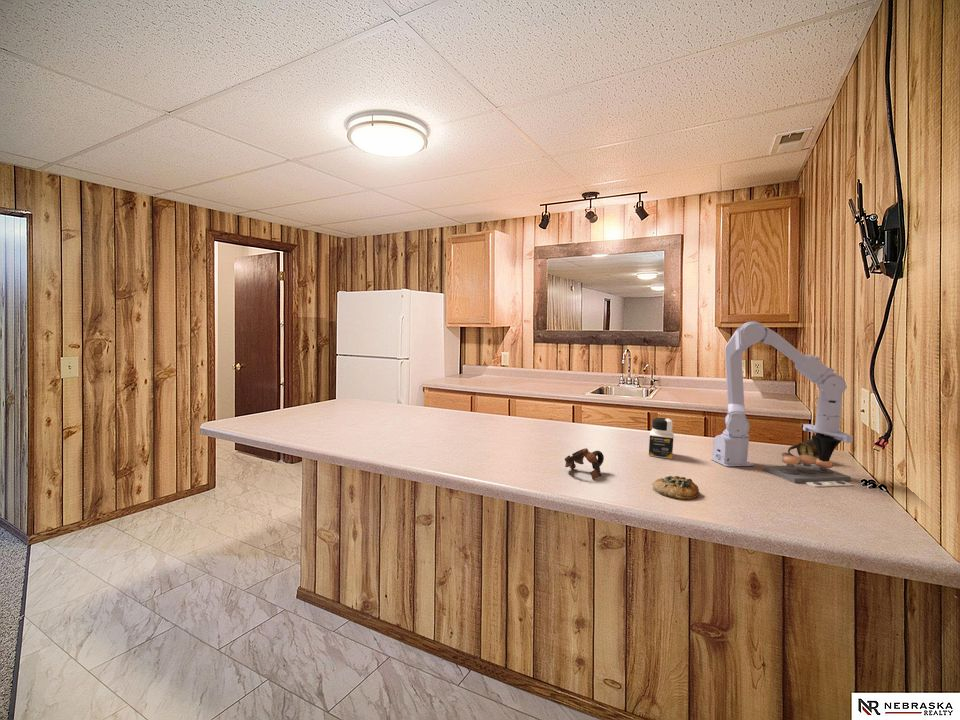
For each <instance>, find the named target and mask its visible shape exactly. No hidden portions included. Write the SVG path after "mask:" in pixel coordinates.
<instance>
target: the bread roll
mask: <svg viewBox="0 0 960 720" xmlns="http://www.w3.org/2000/svg"><path fill="white" fill-rule="evenodd" d="M651 485H652V489H653V490H652V491H655V492H656V493H658V494H660V495H662V496H664V497H667V498H673V499H674V498H676V499H679V500H685V501H686V500H693V499H696V498H697V497H698V496H699V495H700V490H699V486H698V485H697V484H696V483H695V482H693V480H692V478H686V477H685V476H682V477H681V476H678V475H675V476H673V475H669V476H665V477H664V478H663V477H662V478H657V479H656V480H654V481H653V482H652V483H651Z"/></svg>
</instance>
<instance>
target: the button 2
mask: <svg viewBox="0 0 960 720" xmlns="http://www.w3.org/2000/svg"><path fill="white" fill-rule="evenodd" d="M814 465H816V466H819V467H820V468H819V469H821V470H827V468H828V469H832V468H833V461H832V460H831V459H830V460H829V461H821V460H819V459H816V464H814Z"/></svg>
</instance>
